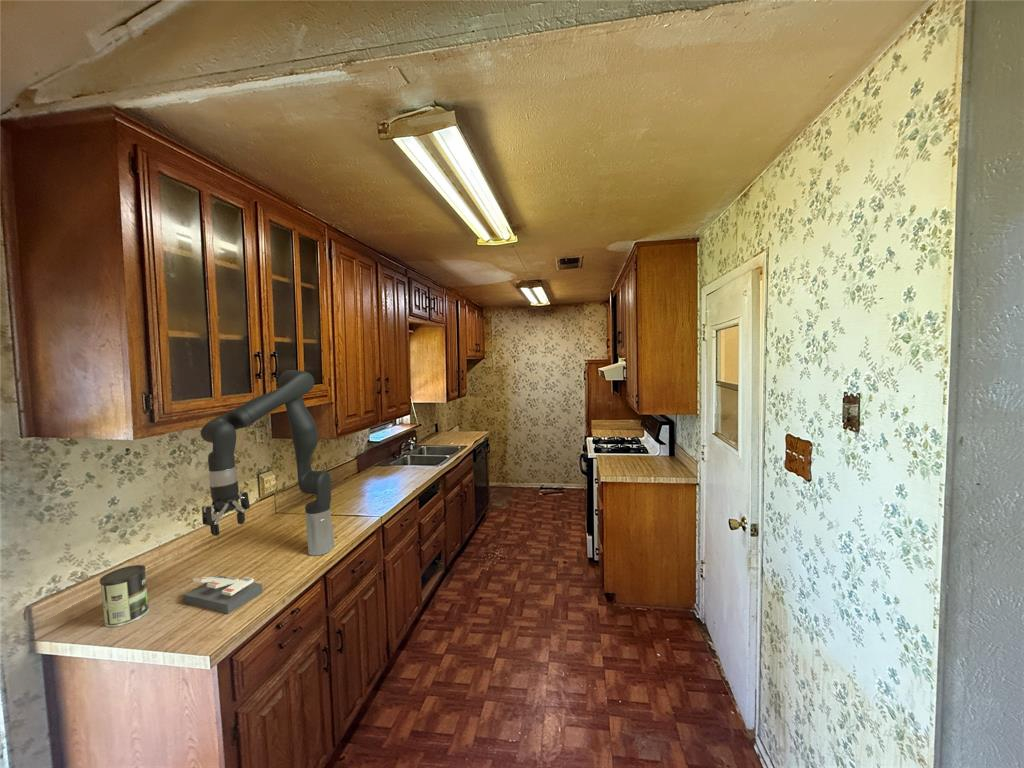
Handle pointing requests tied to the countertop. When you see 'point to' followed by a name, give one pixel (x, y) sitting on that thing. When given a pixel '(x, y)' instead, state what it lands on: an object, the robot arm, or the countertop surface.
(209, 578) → the rocker
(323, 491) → the robot arm
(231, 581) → the rocker
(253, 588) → the rocker switch panel
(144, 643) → the countertop surface
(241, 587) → the rocker
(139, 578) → the coffee can
